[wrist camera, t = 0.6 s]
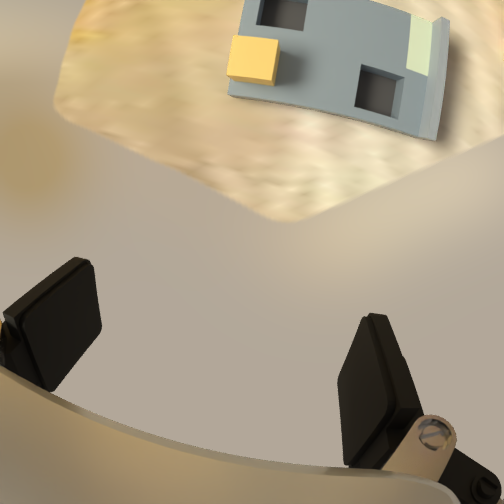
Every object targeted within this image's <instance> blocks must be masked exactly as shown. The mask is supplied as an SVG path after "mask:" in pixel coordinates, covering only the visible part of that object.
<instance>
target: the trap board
mask: <svg viewBox="0 0 504 504" xmlns="http://www.w3.org/2000/svg"><path fill="white" fill-rule="evenodd" d="M449 28H450V20H448V19H445V18H443V17H440V18H439V19H437V20H436V21H434V22H433V23H432V22H430V21H427V20H425V19H422V18H420V17H417V16H415V15H412V14H410V13H407V12H404V11H401V10H398V9H396V8H393V7H390V6H387V5H383V4H380V3H377V2H374V1H370V0H245V2H244V7H243V12H242V17H241V22H240V27H239V32H238V35H239V36H250V37H260V38H268V39H276V40H279V45H280V56H279V62H278V68H277V73H276V79H275V85H274V86H269V85H262V84H254V83H246V82H238V81H234V80H232V79H231V78H230V82H229V88H228V95H230V96H232V97H236V98H244V99H252V100H259V101H265V102H272V103H278V104H284V105H289V106H295V107H300V108H305V109H310V110H315V111H320V112H324V113H329V114H333V115H337V116H341V117H345V118H349V119H353V120H357V121H361V122H365V123H368V124H372V125H375V126H379V127H382V128H386V129H389V130H392V131H395V132H399V133H402V134H405V135H408V136H411V137H414V138H418V139H425V140H431V141H436V137H437V132H438V127H439V121H440V115H441V109H442V102H443V95H444V88H445V80H446V70H447V60H448V47H449Z"/></svg>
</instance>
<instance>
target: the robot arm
mask: <svg viewBox="0 0 504 504" xmlns="http://www.w3.org/2000/svg"><path fill="white" fill-rule="evenodd" d="M3 315H4V318H5V321H4V322H3V323H2V321H1V320H0V504H504V499H503V500H501V498H500V496H501V484H500V481H499V479H498V478H497V476H496V475H495V474H493V473H492V472H490V471H489V470H488V469H486V468H485V467H483V466H482V465H480V464H479V463H477V462H475V461H474V460H472V459H471V458H469V457H468V456H466V455H465V454H463V453H462V452H460V451H459V450H457V449H456V448H455V445H456V441H457V438H456V433H455V430H454V428H453V427H452V426H451V424H450V423H449V422H448V421H446V420H445V419H444V418H441V417H439V416H436V415H424V413H423V410H422V407H421V404H420V401H419V397H418V395H417V391H416V388H415V385H414V382H413V380H412V377H411V374H410V371H409V368H408V365H407V363H406V360H405V358H404V357H403V356H402V354H401V351H400V348H399V345H398V343H397V340H396V337H395V335H394V332H393V330H392V327H391V325H390V322H389V320H388V317H387V316H386V315H382V314H374V313H369V315H368V316H367V317H365V316H364V317H363V318H362V319H361V322H360V324H359V327H358V329H357V332H356V335H355V337H354V340H353V342H352V345H351V347H350V350H349V352H348V355H347V357H346V360H345V362H344V364H343V367H342V369H341V371H340V374H339V376H338V382H337V384H338V385H337V386H338V395H339V407H340V417H341V431H342V445H343V461H344V465H349V468H340V467H339V468H338V467H323V466H309V465H300V464H291V463H283V462H274V461H267V460H260V459H254V458H248V457H242V456H236V455H231V454H226V453H221V452H217V451H212V450H208V449H203V448H199V447H196V446H192V445H187V444H184V443H180V442H176V441H173V440H169V439H166V438H162V437H159V436H156V435H153V434H150V433H146V432H144V431H140V430H138V429H134V428H132V427H129V426H126V425H123V424H121V423H118V422H115V421H113V420H110V419H108V418H105V417H103V416H100V415H98V414H95V413H93V412H91V411H88V410H86V409H84V408H81V407H79V406H77V405H75V404H72V403H70V402H68V401H66V400H64V399H62V398H60V397H58V396H55V395H54V394H51V393H50V392H53V391H55V389H56V388H57V387H58V386H59V384H60V383H61V382H62V380H63V379H64V378H65V376H66V375H67V374H68V373H69V371H70V370H71V369H72V367H73V366H74V365H75V364H76V362H77V361H78V360H79V359H80V357H81V356H82V355H83V354H84V352H85V351H86V350H87V348H89V346H90V345H91V344H92V343H93V341H94V340H95V339H96V338H97V336H98V335H99V334H100V332H101V329H102V323H101V317H100V311H99V304H98V297H97V290H96V282H95V273H94V267H93V265H91V263H90V261H89V260H87V259H83V258H79V257H74V258H72V259H71V260H69V261H68V262H67V263H65V264H64V265H62V266H61V267H60V268H58V269H57V270H56V271H54V272H53V273H52V274H50V275H49V276H48V277H46V278H45V279H44V280H42V281H41V282H40V283H38V284H37V285H36V286H35V287H33V288H32V289H31V290H30V291H28V292H27V293H26V294H24V295H23V296H22V297H21V298H19V299H18V300H17V301H16V302H14V303H13V304H12V305H11V306H10V307H9V308H7V309H6V310H5V311H4V312H3Z"/></svg>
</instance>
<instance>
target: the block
mask: <svg viewBox="0 0 504 504" xmlns="http://www.w3.org/2000/svg"><path fill="white" fill-rule="evenodd" d="M279 56H280V45H279V40H276V39H268V38H260V37H250V36H239V35H233V40H232V45H231V51H230V56H229V62H228V68H227V73H226V75H227V76H228V77H230V78H231V79H232V80H234V81H238V82H246V83H254V84H262V85H269V86H274V85H275V79H276V73H277V68H278V62H279Z"/></svg>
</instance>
